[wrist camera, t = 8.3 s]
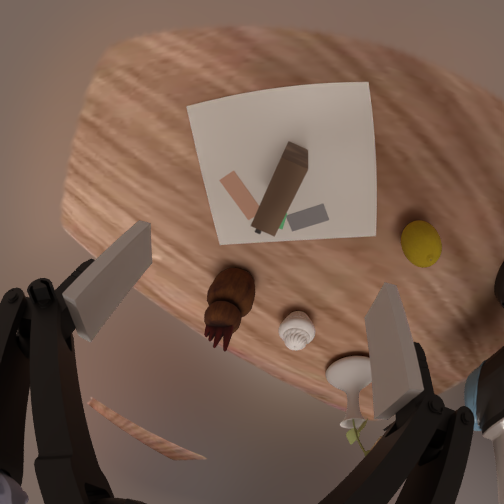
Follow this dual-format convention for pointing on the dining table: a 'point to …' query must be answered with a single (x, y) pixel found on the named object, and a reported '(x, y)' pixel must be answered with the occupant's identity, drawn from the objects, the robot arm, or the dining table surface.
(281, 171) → the dark wooden block
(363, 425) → the flower in vase
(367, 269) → the dining table surface
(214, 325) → the wooden figurine
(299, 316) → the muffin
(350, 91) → the dial board
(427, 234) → the lemon
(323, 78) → the dining table surface
